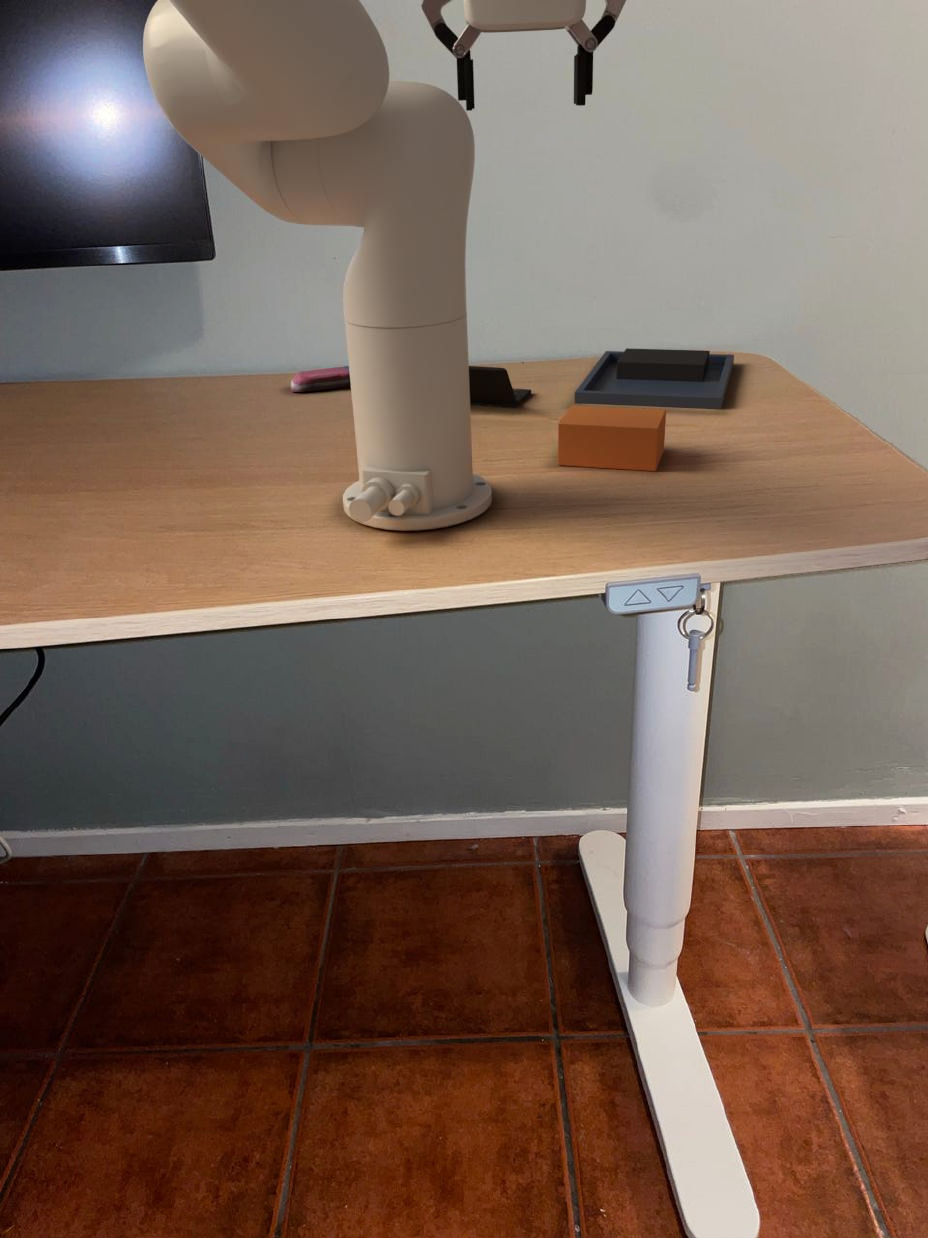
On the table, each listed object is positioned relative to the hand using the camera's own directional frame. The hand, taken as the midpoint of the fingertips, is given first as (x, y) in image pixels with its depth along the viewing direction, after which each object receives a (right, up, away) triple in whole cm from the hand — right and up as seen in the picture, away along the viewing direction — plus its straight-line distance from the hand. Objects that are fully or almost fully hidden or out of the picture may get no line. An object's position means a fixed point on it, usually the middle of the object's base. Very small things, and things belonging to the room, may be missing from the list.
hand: (524, 107), depth 88 cm
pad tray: (+17, -18, +27) cm, 37 cm away
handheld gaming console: (-4, -21, +23) cm, 32 cm away
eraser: (-21, -17, +34) cm, 43 cm away
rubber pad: (+18, -16, +31) cm, 39 cm away
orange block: (+9, -30, +6) cm, 32 cm away
